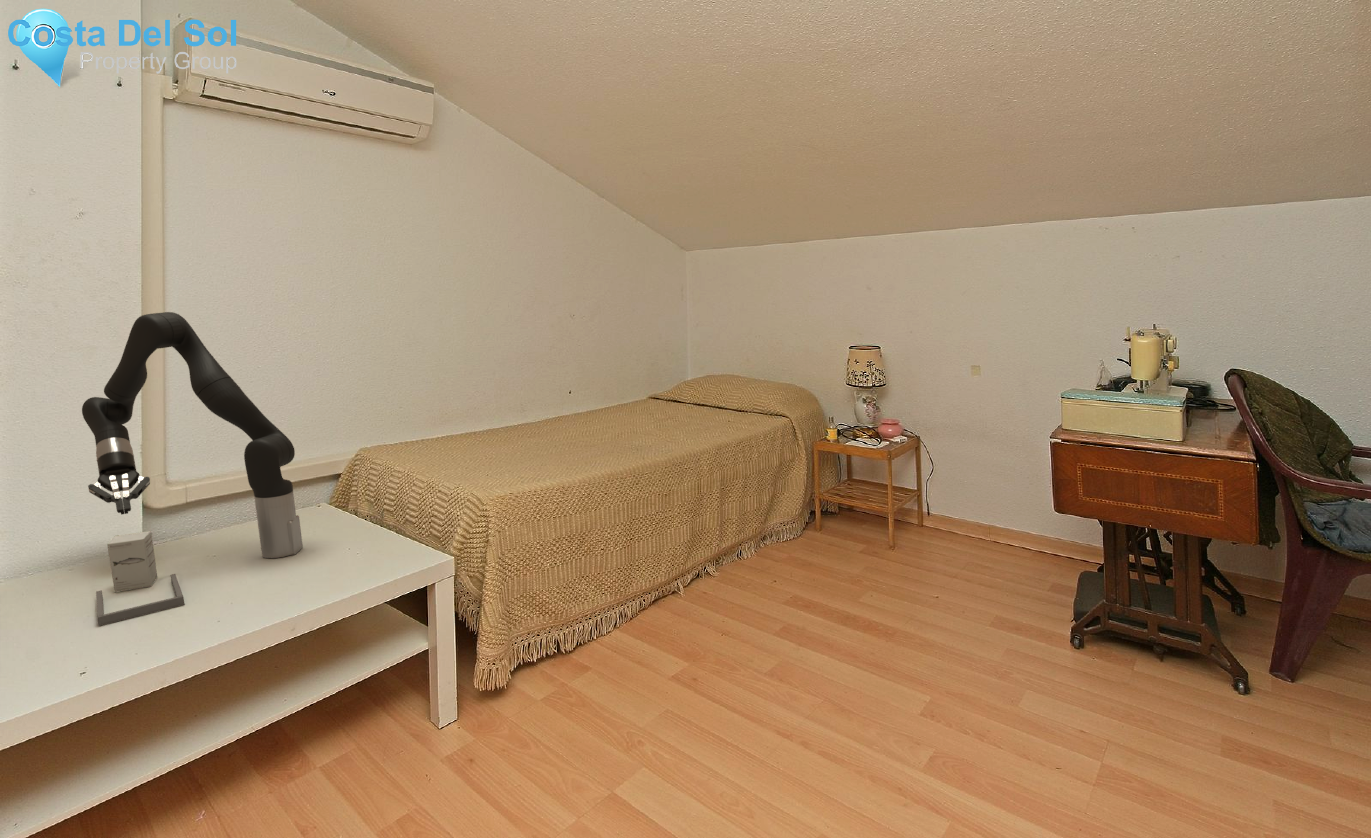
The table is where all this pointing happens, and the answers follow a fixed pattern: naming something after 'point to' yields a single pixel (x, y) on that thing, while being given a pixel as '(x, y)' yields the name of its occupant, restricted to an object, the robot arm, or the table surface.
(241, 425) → the robot arm
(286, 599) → the table surface
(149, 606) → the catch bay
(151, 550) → the supplement box
